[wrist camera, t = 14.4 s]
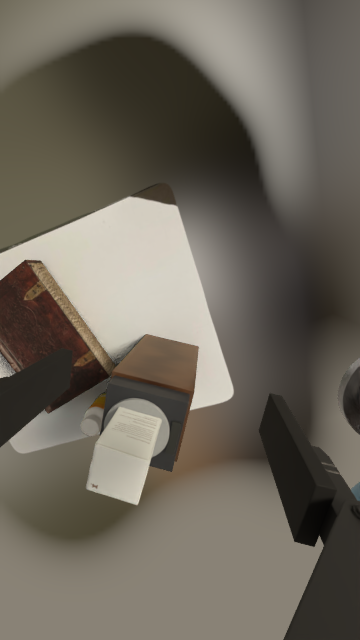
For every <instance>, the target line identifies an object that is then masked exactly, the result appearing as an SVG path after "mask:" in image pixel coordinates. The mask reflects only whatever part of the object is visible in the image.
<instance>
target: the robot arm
mask: <svg viewBox="0 0 360 640" xmlns="http://www.w3.org/2000/svg"><path fill="white" fill-rule="evenodd" d="M72 354H73V350H68V349H64V348H61V349H59V350H58V351H56V352H54V353H52V354H50V355H48V356H47V357H45V358H43V359H41V360H39V361H37V362H36V363H34V364H32V365H30V366H28V367H26V368H25V369H23V370H21V371H19V372H17V373H15V374H14V375H12V376H10V377H3V378H0V447H1V446H2V445H3V444H5V443H6V442H7V441H8V440H9V439H10V438H12V437H13V436H14V435H15V434H16V433H17V432H19V431H20V430H21V429H22V428H23V427H24V426H26V425H27V424H28V423H29V422H30V421H31V420H32V419H34V418H35V417H36V416H37V415H38V414H39V413H41V412H42V411H43V410H44V409H45V408H46V407H48V406H49V405H50V404H51V403H52V402H53V401H54V400H56V399H57V398H58V397H59V396H60V395H61V394H63V393H64V392H65V391H66V390H67V389H68V388H70V377H71V365H72ZM259 433H260V436H261V439H262V442H263V445H264V448H265V451H266V455H267V458H268V461H269V464H270V467H271V470H272V473H273V476H274V479H275V483H276V486H277V488H278V492H279V495H280V498H281V501H282V504H283V507H284V510H285V514H286V517H287V520H288V523H289V526H290V529H291V532H292V535H293V538H294V541H295V542H298V543H301V544H305V545H309V546H313V547H314V546H315V544H316V542H317V539H318V537H319V535H320V537H321V540H322V542H323V544H324V547H323V550H322V552H321V555H320V557H319V559H318V561H317V563H316V566H315V568H314V570H313V573H312V575H311V577H310V580H309V582H308V584H307V587H306V589H305V591H304V593H303V596H302V598H301V600H300V603H299V605H298V607H297V610H296V612H295V614H294V617H293V619H292V621H291V624H290V626H289V628H288V630H287V633H286V635H285V637H284V640H360V482H359V483H358V484H356V485H355V486H354V487H353V488H352V489H351V490H350V488H349V487H348V485H347V484H346V482H345V481H344V479H343V478H342V476H341V475H340V473H339V471H338V470H337V468H336V467H335V465H334V464H333V462H332V461H331V459H330V458H329V456H327V454H326V453H325V452H324V451H323V450H321V449H320V448H319V447H315V446H311V444H310V442H309V441H308V439H307V437H306V436H305V434H304V432H303V431H302V429H301V427H300V426H299V424H298V422H297V421H296V419H295V417H294V415H293V414H292V412H291V410H290V409H289V407H288V405H287V404H286V402H285V400H284V399H283V397H282V396H280V395H275V394H269V398H268V401H267V405H266V408H265V411H264V415H263V418H262V422H261V425H260V428H259Z"/></svg>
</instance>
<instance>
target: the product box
mask: <svg viewBox="0 0 360 640" xmlns="http://www.w3.org/2000/svg"><path fill="white" fill-rule="evenodd" d="M161 422H162V420H161V419H160V418H157V417H154V416H150V415H147V414H143V413H140V412H136V411H133V410H130V409H127V408H123V407H118V409H117V411H116V412H115V414H114V415H113V417H112V419H111V420H110V422H109V423H108V425H107V426H106V428H105V429H104V431H103V432H102V434H101V435H100V437H99V438H98V440H97V442H96V443H95V447H94V453H93V458H92V462H91V465H90V471H89V476H88V481H87V485H86V489H87V490H91V491H94V492H97V493H100V494H104V495H107V496H110V497H113V498H116V499H119V500H122V501H126V502H129V503H132V504H135V505H138V503H139V500H140V496H141V493H142V489H143V486H144V483H145V479H146V476H147V472H148V468H149V465H150V461H151V457H152V454H153V450H154V446H155V442H156V439H157V435H158V432H159V428H160V425H161Z"/></svg>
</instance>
